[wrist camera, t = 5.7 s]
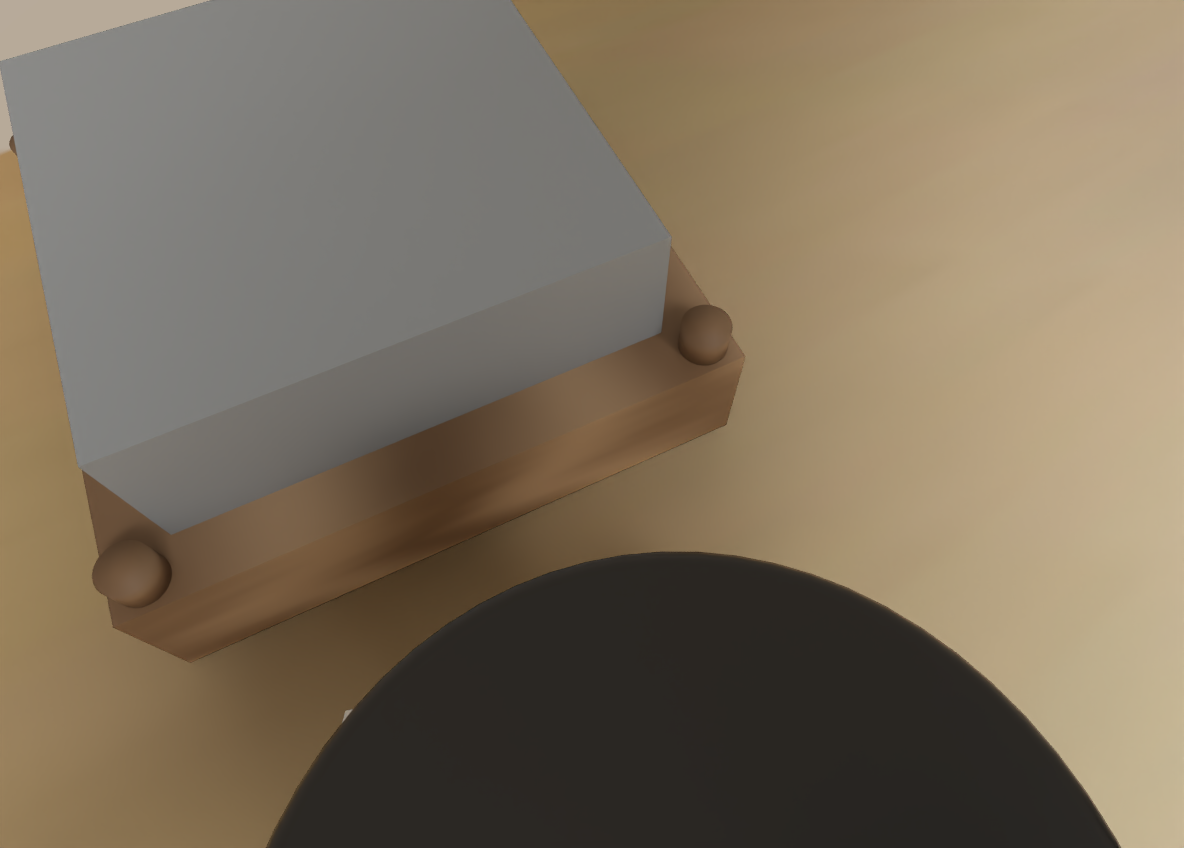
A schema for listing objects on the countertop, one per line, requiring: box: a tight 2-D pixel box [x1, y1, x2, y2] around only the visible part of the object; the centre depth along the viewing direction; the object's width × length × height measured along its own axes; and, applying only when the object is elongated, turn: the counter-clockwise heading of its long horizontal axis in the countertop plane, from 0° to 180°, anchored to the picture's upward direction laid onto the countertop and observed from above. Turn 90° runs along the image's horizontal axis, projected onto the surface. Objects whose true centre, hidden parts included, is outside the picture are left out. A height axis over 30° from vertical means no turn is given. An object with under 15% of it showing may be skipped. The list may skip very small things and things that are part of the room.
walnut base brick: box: [9, 136, 746, 663], centre depth 22 cm, size 15×15×4 cm
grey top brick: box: [0, 0, 672, 535], centre depth 20 cm, size 12×12×4 cm
